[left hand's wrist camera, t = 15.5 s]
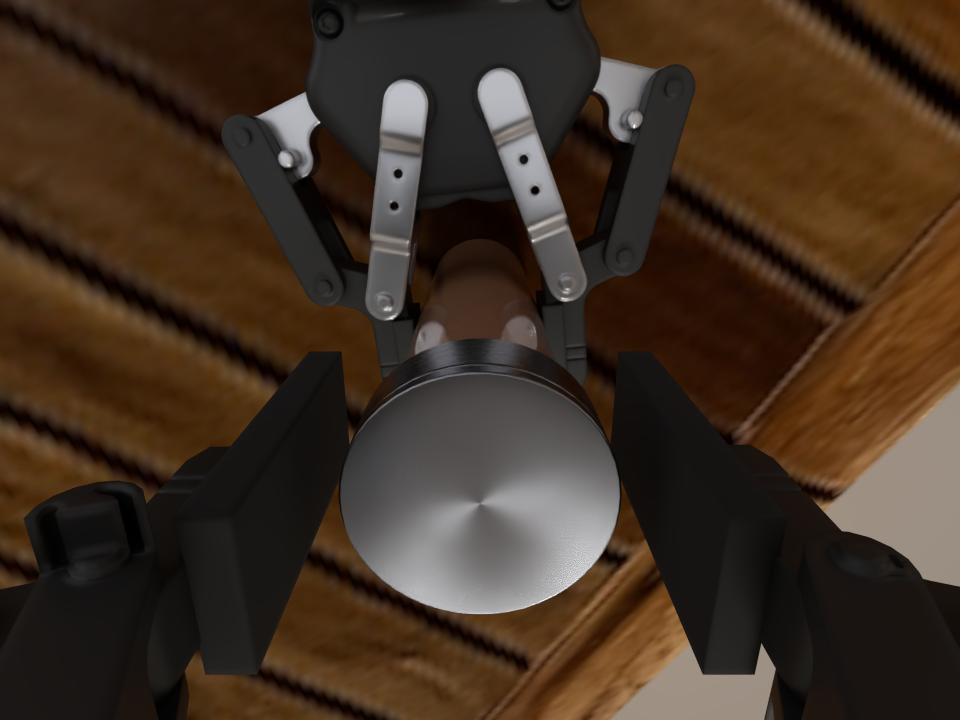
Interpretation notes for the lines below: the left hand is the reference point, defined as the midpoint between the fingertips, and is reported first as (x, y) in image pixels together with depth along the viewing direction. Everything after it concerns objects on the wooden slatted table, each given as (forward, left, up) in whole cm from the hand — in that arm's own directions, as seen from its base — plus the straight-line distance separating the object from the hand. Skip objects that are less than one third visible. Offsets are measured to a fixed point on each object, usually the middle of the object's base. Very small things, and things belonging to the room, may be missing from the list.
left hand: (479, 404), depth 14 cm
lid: (0, 0, +4) cm, 4 cm away
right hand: (+2, -2, -6) cm, 7 cm away
